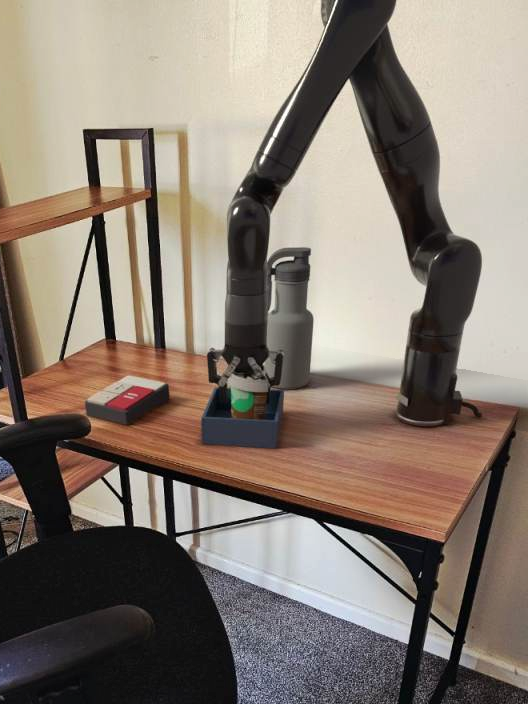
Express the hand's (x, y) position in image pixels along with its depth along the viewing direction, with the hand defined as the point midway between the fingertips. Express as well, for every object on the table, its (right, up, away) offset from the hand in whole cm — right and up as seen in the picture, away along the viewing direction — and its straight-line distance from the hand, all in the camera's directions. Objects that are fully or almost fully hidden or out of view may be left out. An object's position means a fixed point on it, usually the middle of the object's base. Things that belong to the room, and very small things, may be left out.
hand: (244, 404), depth 133 cm
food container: (0, -3, +2) cm, 4 cm away
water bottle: (+12, +8, +22) cm, 27 cm away
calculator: (-22, +1, +15) cm, 27 cm away
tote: (0, -4, +3) cm, 5 cm away
